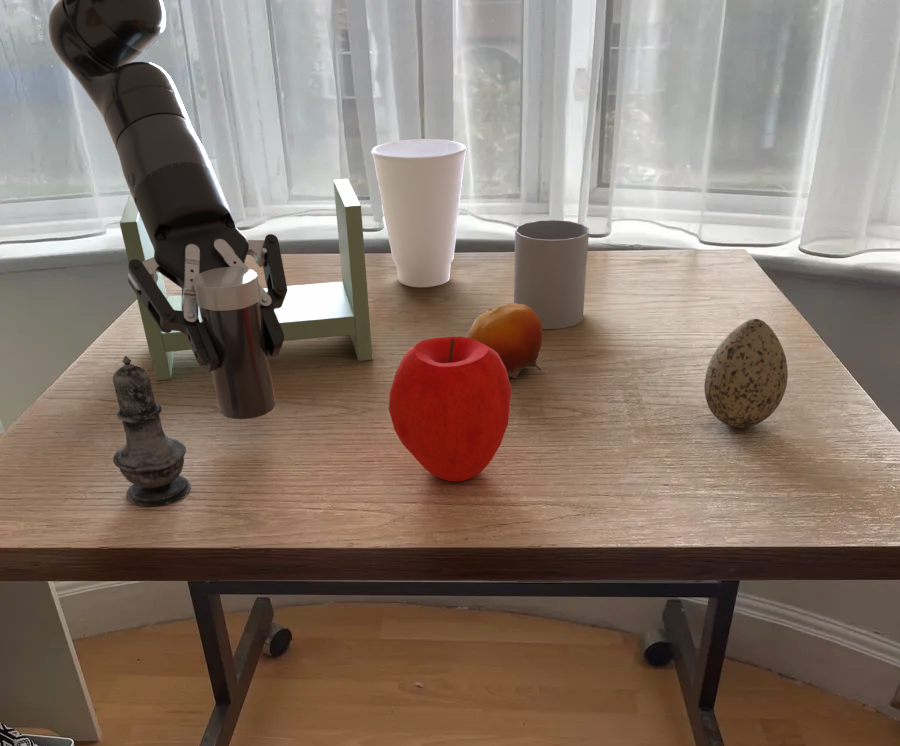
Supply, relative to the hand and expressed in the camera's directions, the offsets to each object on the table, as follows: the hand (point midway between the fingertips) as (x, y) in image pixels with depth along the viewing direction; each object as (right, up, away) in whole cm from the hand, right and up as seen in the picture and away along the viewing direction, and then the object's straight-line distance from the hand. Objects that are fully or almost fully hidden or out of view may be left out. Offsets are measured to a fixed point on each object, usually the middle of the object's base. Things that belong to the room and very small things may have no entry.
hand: (245, 358), depth 79 cm
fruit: (+24, +3, +17) cm, 30 cm away
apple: (+18, -10, -1) cm, 21 cm away
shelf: (-3, +7, +23) cm, 24 cm away
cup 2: (+30, +13, +29) cm, 44 cm away
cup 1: (+15, +22, +42) cm, 49 cm away
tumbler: (-1, -3, +5) cm, 6 cm away
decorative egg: (+45, -5, +6) cm, 46 cm away
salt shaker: (-7, -12, -2) cm, 14 cm away
